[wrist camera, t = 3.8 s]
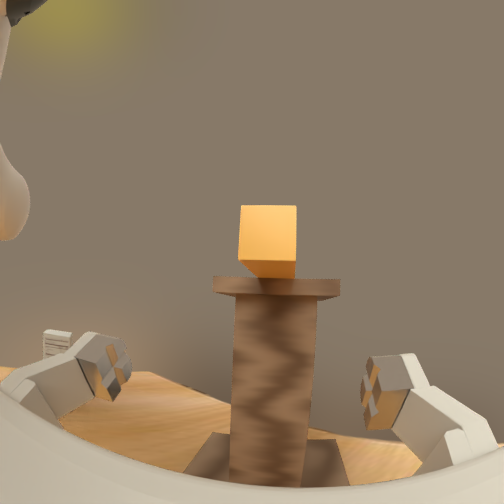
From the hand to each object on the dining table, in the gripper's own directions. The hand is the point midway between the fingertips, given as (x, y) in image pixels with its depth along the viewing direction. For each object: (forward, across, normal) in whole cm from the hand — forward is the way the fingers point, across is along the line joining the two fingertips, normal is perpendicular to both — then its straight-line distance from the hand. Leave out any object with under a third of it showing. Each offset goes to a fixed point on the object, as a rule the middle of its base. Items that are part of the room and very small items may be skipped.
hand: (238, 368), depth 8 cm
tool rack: (+12, 0, +32) cm, 34 cm away
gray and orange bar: (+20, 0, +6) cm, 21 cm away
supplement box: (+25, +52, +40) cm, 70 cm away
